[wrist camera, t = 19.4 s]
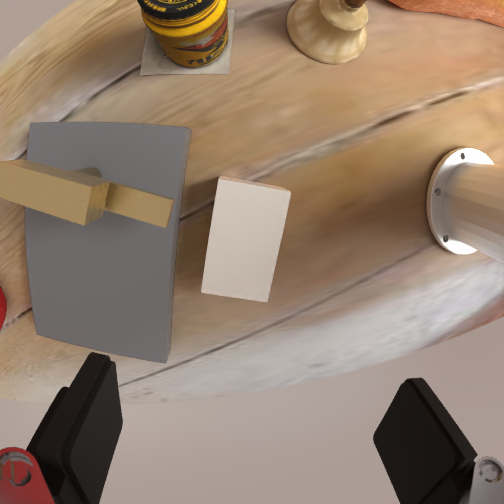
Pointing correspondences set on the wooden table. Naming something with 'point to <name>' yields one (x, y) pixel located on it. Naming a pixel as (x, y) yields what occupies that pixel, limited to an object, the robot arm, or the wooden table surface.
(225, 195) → the white rectangular block
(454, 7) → the bread
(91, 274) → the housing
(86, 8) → the wooden table surface
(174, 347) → the wooden table surface
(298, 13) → the hand bell
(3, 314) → the apple
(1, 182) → the key
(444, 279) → the wooden table surface
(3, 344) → the wooden table surface
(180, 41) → the condiment
